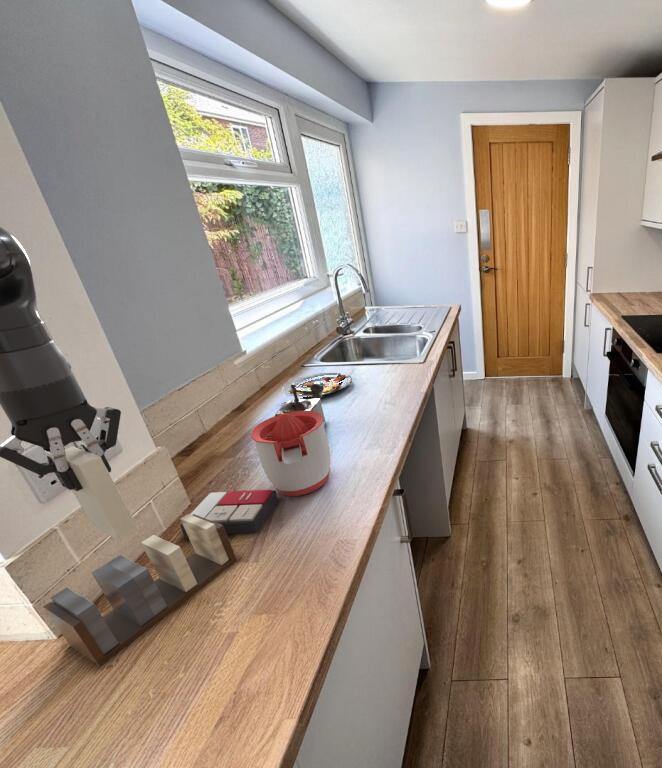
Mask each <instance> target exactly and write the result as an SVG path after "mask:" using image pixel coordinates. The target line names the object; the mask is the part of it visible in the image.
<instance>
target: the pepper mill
mask: <svg viewBox="0 0 662 768" xmlns="http://www.w3.org/2000/svg"><path fill="white" fill-rule="evenodd" d="M295 387H296V385H295V384H292V385H291V388H292V389H291V391H293V394H294V396H293V397H294V399H291V400H290V399H289V400H287V401H286V402H285V403H284V404H283V405H281V407H280V408H279V409H278V410H277V411H276V412H275V413H274V416H277V415H280V414H284V413H288V412H293V411H315V412H318V413H320V414H321V415H322V416H323V424H324V428H326V424H327V422H326V418H325V417H326V416H325V414H324V409H323V405H322V400H321V398H322V397H323V395H321V392H322V391H323V390H324V386H323V384H322V383H319V382H315V383H312V384H311V385H310V390H311V391H305V390H298V389H296V388H295ZM296 392H299V393H306V394H312V396H311V398H307V399H306V398H299V396H297V393H296ZM324 422H325V423H324Z"/></svg>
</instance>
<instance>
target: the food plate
mask: <svg viewBox="0 0 662 768" xmlns="http://www.w3.org/2000/svg"><path fill="white" fill-rule="evenodd" d="M324 375H338V376H337V377H322V378H320V379H319V378H318V379H315V380H311V381H308V382H305V383H303V384H300V385H302V386H300V385H299V386H298V387H296V389H298V390H301V389H302V388H308V389H307V390H308V391H311V390H309V389H310V385H311V384H312V383H315V382H319V383H322V384H323V382H324V381H326V383H327V382H330V381H329V380H331V379H334V380H333V381H335V382H334V383H338V382H340V381H342V380H344V379H345V378H348V379H349V380H348V379H347V382H345V383H346V384H345V383H344V385H343V386H341V385H342V383H343V382H341V383H339V384H334V385H333V382H332V381H331V382H332V383H330V384H331V385H332V386H330V387H329V386H325V385H329V384H328V383H327V384H326V383H325V384H323V386H324V390H323V391H322V392H321V395H322V396H326V395H330V394H333V393H337V392H339V391H341V390H343V389H344V388H346V387H347V386H349V385H350V384H352V382H353V379H352V376H351V375H348V374H346V373H342V372H320V373H314V374H309V375H305V376H301V377H298V378H295V379H293V380H290V381H289V382H287V383H286V384H285V385H283V386H282V388H281V393H282V394H283V395H285V396H289V397H294V394H293V391H291V389H292V388H291V385H292V384H295V385H298V384H299V383H301V382H303V381H307V380H306V379H308V380H309V379H310V378H311V379H312V378H314V377H318V376H324ZM306 383H307V384H306ZM303 386H307V387H303ZM300 388H301V389H300ZM289 392H290V393H289ZM296 393H297V397H298V398H300V397H304V398H305V397H312V394H306V393H299V392H296ZM322 393H324V394H322ZM299 394H302V395H299Z"/></svg>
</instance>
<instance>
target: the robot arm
mask: <svg viewBox="0 0 662 768" xmlns="http://www.w3.org/2000/svg"><path fill="white" fill-rule="evenodd" d="M0 407H1V408H2V410H3V412H4V413H5V416H6V417H7V418H8V421H9V422H10V424H11V429H10V434H11V436H10V437H8V438H7V439H6V440H5V441H3V442H2V443H1V444H0V458H2V459H4V460H6V461H8V462H10V463H12V464H15V465H16V466H19V467H21V468H23V469H25V470H27V471H29V472H32V473H34V474H36V475H38V476H42V477H43V476H46V475H49V474H52V473H54V475H55V476H56V478H57V480H58V481H59V482H60V484H61V486H62V487H63V488H65V489H68V490H69V491H72V489H73V490H75V491H79V490H81V489H83V487H82V485H81V484H80V482H79V480H78V478H77V477H76V475H75V473H74V471H73V470H72V469H71V468H69V465H68V462H67V459H66V456H65V455H66V452H65V449H66V448H65V447H66V446H68V445H69V444H71V443H77V444H78V445H79V447H80V448H81V450H84V451H87V452H90V453H92V454H95V455H98V456H100V457H101V459H102V461H103V463H104V465H105V466H106V468H107V470H108V472H109V473H111V472H112V467H111V465H110V463H109V462H108V459H107V458H106V456H105V453H106V451H107V450H109V449H110V448H113V447H115V446H116V445H117V442H118V434H119V428H120V423H121V422H120V421H121V414H122V411H121V409H119V408H115V407H111V406H105V407H103V408H102V407H101V408H98V407H96V406H94V405H92V404H91V403H90V402H88V400H87V398H86V396H85V394H84V392H83V390H82V388H81V385H80V384H79V382H78V380H77V378H76V376H75V375H74V372H73V370H72V366H71V364H70V362H68V361H67V358H66V357H65V355H64V353H63V352H62V351H61V349H60V348H59V347H58V345H57V344H56V342H55V340H54V339H53V336H52V335H51V333H50V331H49V329H48V326H47V325H46V323H45V321H44V319H43V317H42V316H41V314H40V311H39V310H38V301H37V291H36V285H35V280H34V273H33V268H32V264H31V261H30V258H29V256H28V254H27V252H26V250H25V248H23V246H22V244H21V243H20V241H18V239H17V238H16V237H14V235H12V234H11V233H10V232H9V231H7V230H6V229H5V228H3V227H2V226H0ZM96 418H97V421H98V422H100V425H99V432H98V439H96V438H95V436H94V435H93V434H92V433H91V430H92V427H93V424H94V422H95V419H96ZM22 442H25V443H28V444H31V445H35V446H37V447H40V448H41V451H42V453H43V455H44V457H45V459H46V462H41V463H40V462H38V461H36V460H34V459H32V458H29V457H28V456H25V455H23V453H24V451H25V448H24V447H23V446H22V445H21V444H22Z"/></svg>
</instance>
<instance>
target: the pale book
mask: <svg viewBox="0 0 662 768" xmlns="http://www.w3.org/2000/svg"><path fill="white" fill-rule="evenodd" d="M64 449H65V452H66V455H65V456H66V459H67V462H68V465H69V468H71V469H72V470H73V471H74V473H75V475H76V477H77V478H78V480H79V482H80V484H81V485H82V487H83V489H81V490H79V491H75V490H73V489H72V490H71V492H72V494H73V495H74V497H75V498H76V500H77V502H78V503H79V506H80V507H81V509H82V510H83V512H84V514H85V516H86V518H87V519H88V521H89V522H90V524H91V526H92V527H93V528H94V529H96V530H98V531H100V532H101V533H103V534H106V535H107V536H110V537H112V538H114V539H116V540H118V541H120V542H121V541H122V540H124V539H126V538H128V537H129V536H131V535H133V534H135V533H136V532H138V531H139V527H138V525H137V523H136V521H135V519H134V518H133V516H132V514H131V512H130V510H129V508H128V506H127V505H126V502H125V501H124V499H123V497H122V494H121V493H120V492H119V489H118V488H117V485H116V484H115V481H114V479H113V478H112V476H111V474H110V472H108V470H107V468H106V466H105V465H104V463H103V461H102V459H101V457H100V456H98V455H95V454H92V453H90V452H87V451H84V450H83V449H82V448H79V447H75V446H69V447H68V448H64Z"/></svg>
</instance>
